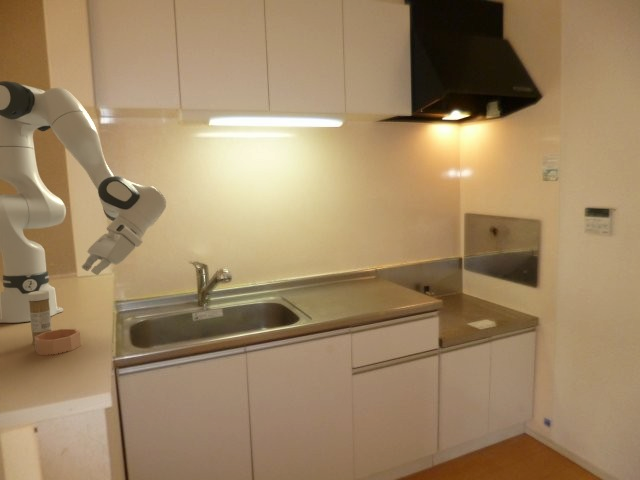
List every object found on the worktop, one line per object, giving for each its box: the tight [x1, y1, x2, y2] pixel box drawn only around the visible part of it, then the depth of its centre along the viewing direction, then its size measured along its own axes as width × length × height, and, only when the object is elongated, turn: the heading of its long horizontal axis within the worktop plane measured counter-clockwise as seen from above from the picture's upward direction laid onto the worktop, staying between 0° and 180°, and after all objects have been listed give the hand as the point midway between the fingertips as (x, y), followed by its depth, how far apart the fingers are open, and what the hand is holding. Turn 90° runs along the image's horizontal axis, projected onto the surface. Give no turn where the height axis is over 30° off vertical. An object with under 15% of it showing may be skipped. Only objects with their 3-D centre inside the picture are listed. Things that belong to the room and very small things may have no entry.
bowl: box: [34, 328, 82, 356], centre depth 107 cm, size 9×9×4 cm
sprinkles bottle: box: [28, 290, 52, 345], centre depth 111 cm, size 5×5×13 cm
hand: (88, 271), depth 118 cm, fingers open, 8 cm apart
